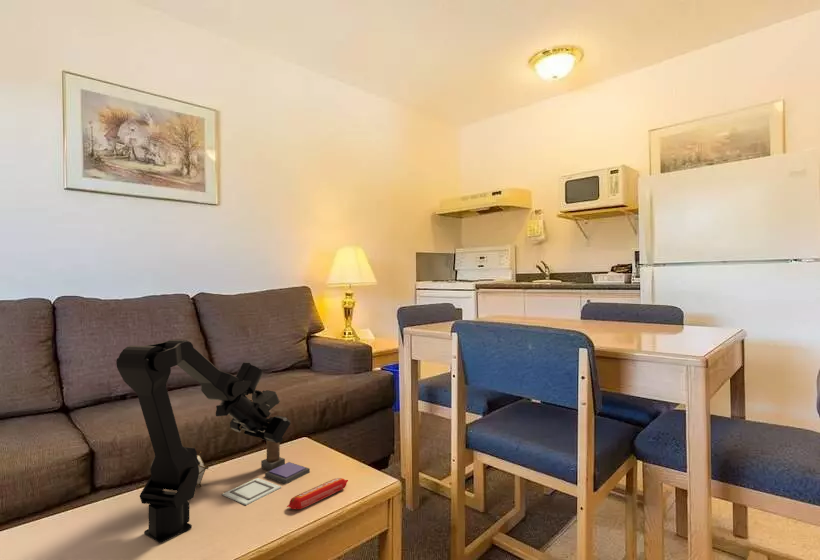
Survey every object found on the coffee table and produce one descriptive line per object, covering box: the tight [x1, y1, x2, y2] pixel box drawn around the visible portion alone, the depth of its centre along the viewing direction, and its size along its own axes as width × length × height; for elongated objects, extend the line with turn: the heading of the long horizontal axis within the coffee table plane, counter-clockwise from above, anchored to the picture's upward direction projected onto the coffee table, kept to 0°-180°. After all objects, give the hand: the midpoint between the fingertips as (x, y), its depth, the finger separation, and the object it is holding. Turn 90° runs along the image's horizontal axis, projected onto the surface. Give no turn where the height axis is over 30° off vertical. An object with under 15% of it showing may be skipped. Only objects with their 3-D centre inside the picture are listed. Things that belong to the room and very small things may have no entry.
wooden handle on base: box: [260, 422, 286, 472], centre depth 118 cm, size 4×4×13 cm
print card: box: [222, 477, 282, 506], centre depth 104 cm, size 10×9×1 cm
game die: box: [196, 451, 210, 488], centre depth 106 cm, size 9×8×10 cm
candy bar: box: [286, 477, 349, 510], centre depth 100 cm, size 16×4×3 cm, turn 139°
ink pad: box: [264, 461, 311, 485], centre depth 113 cm, size 8×8×1 cm
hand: (277, 439), depth 119 cm, fingers closed on wooden handle on base, 3 cm apart
